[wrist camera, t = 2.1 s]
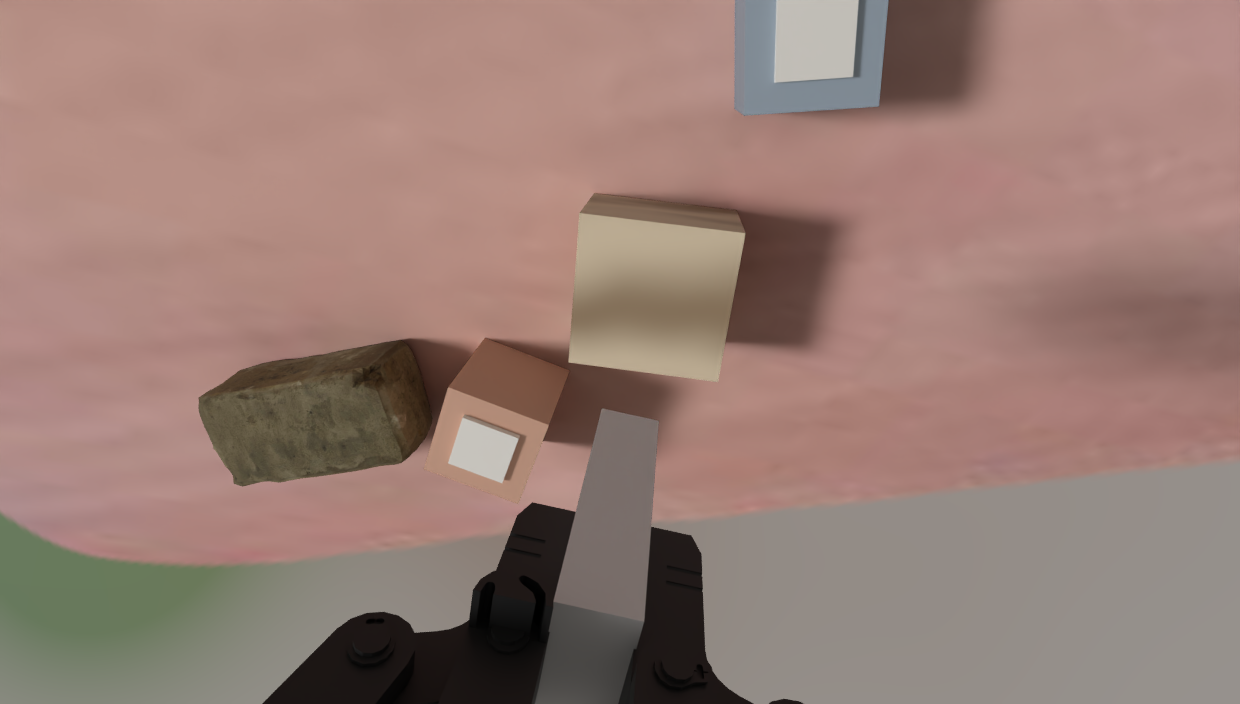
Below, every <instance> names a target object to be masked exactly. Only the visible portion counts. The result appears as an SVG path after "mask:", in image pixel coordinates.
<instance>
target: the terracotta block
mask: <svg viewBox="0 0 1240 704" xmlns="http://www.w3.org/2000/svg"><path fill="white" fill-rule="evenodd" d="M569 371H570V370H567V369H565V368H562V367H559V366H557V365H554V364H552V363H549V362H546V361H544V360H541V359H539V358H536V357H533V356H531V355H528V354H526V353H523V352H520V351H518V350H515V349H513V348H510V347H507V346H505V345H502V344H500V343H497V342H494V341H492V340H489V339H487V338H485V339H484V340H483V341H482V343H481V344H480V345H479V347H478V348H477V349H476V351H475V352H474V353H473V355H472V356H471V357H470V359H469V360H468V361H467V363H466V364H465V365H464V367H463V368H462V369H461V371H460V372H459V373H458V375H457V376H456V377H455V379H454V380H453V381H452V383H451V384H450V385H449V387H448V389H447V393H446V396H445V399H444V403H443V406H442V409H441V413H440V416H439V419H438V423H437V426H436V430H435V433H434V436H433V440H432V443H431V446H430V450H429V453H428V456H427V460H426V463H425V466H424V470H427V471H430V472H433V473H435V474H438V475H441V476H443V477H446V478H449V479H452V480H454V481H457V482H460V483H463V484H465V485H468V486H471V487H473V488H476V489H479V490H482V491H484V492H487V493H490V494H493V495H495V496H498V497H501V498H503V499H506V500H509V501H512V502H514V503H517V504H518V503H519V501H520V498H521V496H522V493H523V490H524V488H525V485H526V483H527V480H528V478H529V475H530V472H531V470H532V467H533V465H534V462H535V460H536V457H537V455H538V452H539V449H540V447H541V444H542V442H543V439H544V437H545V434H546V432H547V429H548V426H549V424H550V421H551V419H552V416H553V413H554V411H555V408H556V405H557V403H558V400H559V398H560V395H561V392H562V390H563V387H564V384H565V382H566V379H567V377H568V374H569Z"/></svg>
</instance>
